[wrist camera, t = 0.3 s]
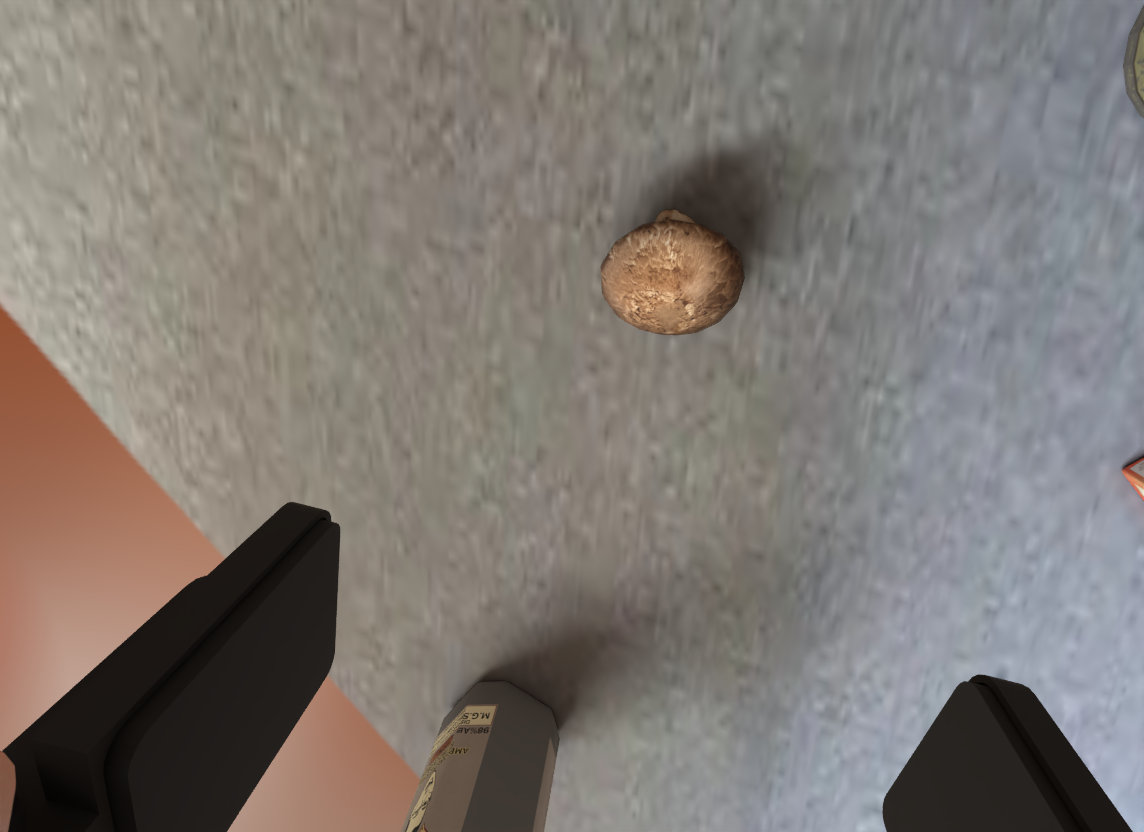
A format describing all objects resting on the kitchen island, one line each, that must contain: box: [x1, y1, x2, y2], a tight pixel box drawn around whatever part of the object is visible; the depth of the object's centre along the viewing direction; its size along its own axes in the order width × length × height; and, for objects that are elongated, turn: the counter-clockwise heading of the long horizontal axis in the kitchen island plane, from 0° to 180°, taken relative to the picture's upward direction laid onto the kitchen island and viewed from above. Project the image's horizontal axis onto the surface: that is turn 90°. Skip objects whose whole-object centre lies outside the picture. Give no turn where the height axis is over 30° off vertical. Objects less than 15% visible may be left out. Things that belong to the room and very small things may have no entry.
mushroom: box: [601, 210, 745, 335], centre depth 34 cm, size 8×8×6 cm
